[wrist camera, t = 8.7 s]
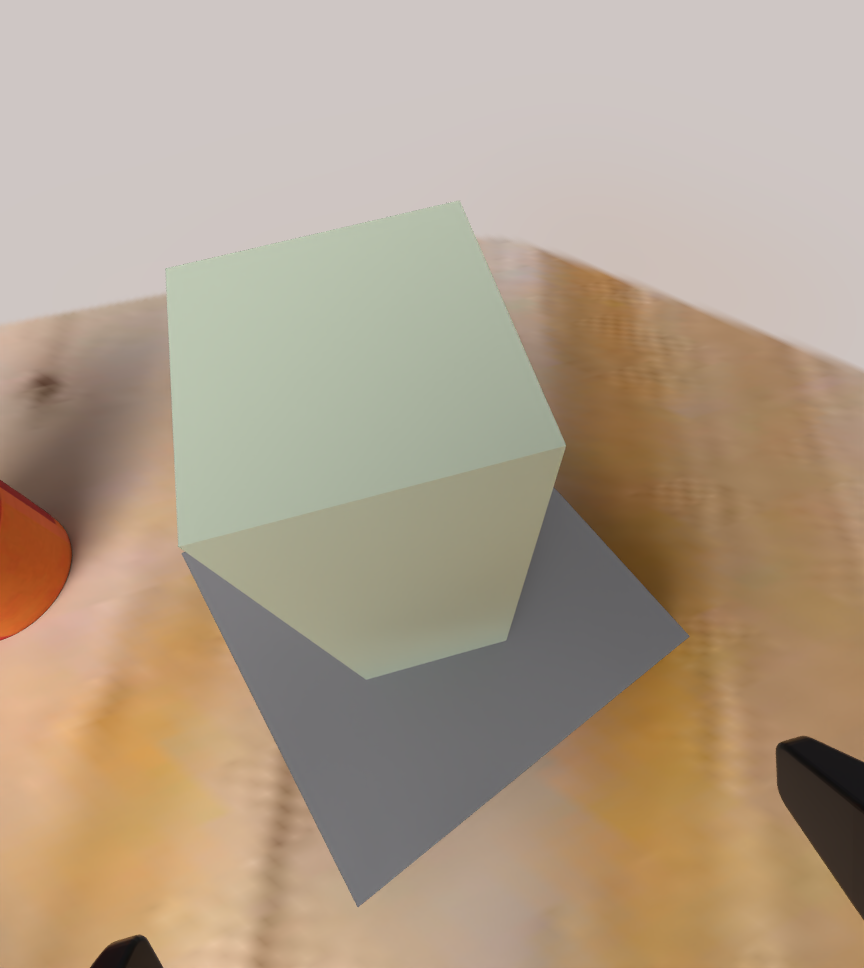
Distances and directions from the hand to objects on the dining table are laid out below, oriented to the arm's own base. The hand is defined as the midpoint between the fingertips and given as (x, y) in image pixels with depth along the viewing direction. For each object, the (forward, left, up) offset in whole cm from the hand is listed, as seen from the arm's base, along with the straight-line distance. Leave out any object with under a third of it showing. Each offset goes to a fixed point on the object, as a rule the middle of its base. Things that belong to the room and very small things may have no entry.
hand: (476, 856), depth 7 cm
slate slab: (+6, -2, -11) cm, 13 cm away
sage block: (+6, -2, -8) cm, 11 cm away
